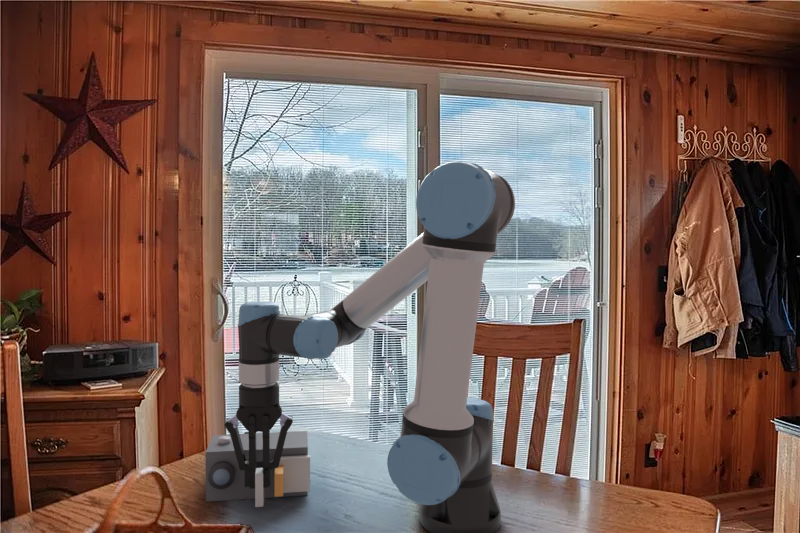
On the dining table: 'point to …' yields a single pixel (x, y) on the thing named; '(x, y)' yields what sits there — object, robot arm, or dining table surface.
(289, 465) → the door
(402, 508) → the dining table surface
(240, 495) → the housing
